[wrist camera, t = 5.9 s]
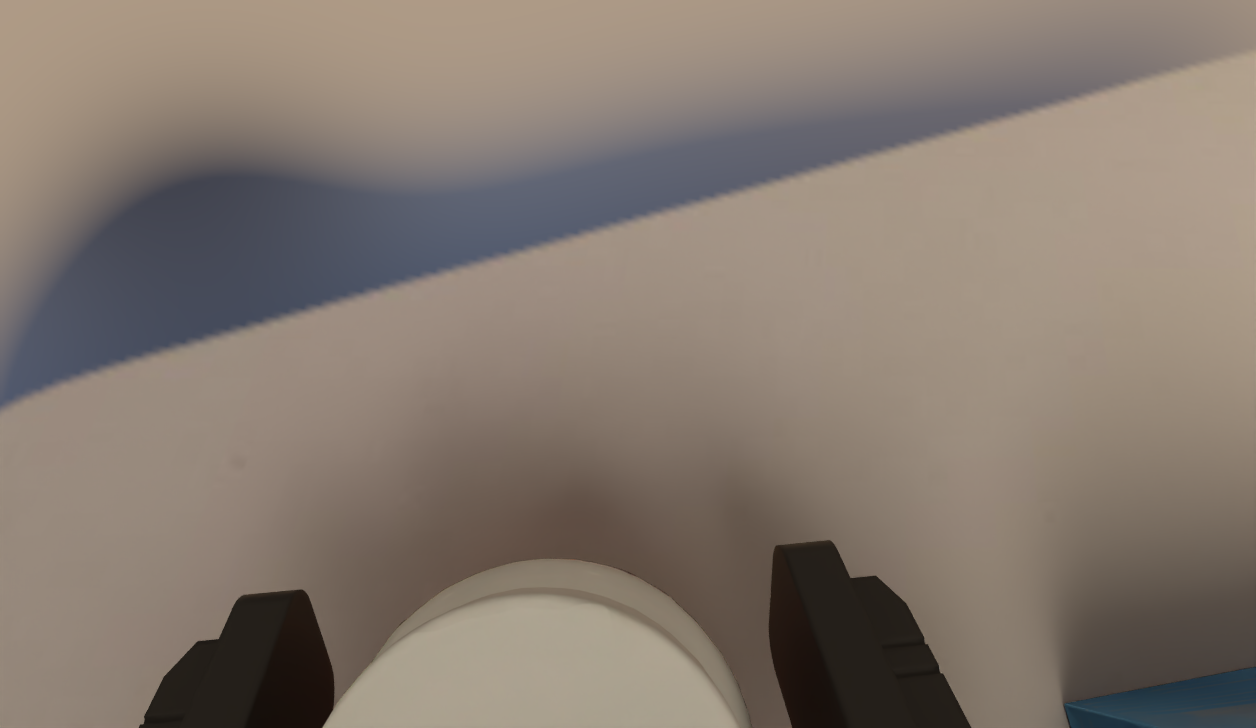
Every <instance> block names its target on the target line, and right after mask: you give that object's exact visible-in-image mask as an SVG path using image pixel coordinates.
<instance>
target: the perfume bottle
mask: <svg viewBox="0 0 1256 728" xmlns="http://www.w3.org/2000/svg"><path fill="white" fill-rule="evenodd" d="M1064 705H1065V708H1066V712H1067V715H1068V719H1069V722H1070V726H1071V728H1256V667H1253V668H1247V669H1242V670H1237V671H1232V672H1226V673H1221V674H1216V675H1211V676H1206V677H1200V678H1195V679H1190V680H1185V681H1180V682H1174V683H1169V684H1164V685H1159V686H1154V687H1148V688H1143V689H1138V690H1133V691H1128V692H1122V693H1117V694H1112V695H1107V696H1101V697H1096V698H1091V699H1086V700H1081V701H1075V702H1070V703H1065V704H1064Z"/></svg>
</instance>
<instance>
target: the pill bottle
mask: <svg viewBox="0 0 1256 728" xmlns="http://www.w3.org/2000/svg"><path fill="white" fill-rule="evenodd" d="M323 728H752V725H751V721H750V718H749V714H748V710H747V707H746V704H745V701H744V699H743V696H742V694H741V691H740V688H739V685H738V683H737V681H736V679H735V677H734V675H733V673H732V671H731V670H730V668H729V666H728V664H727V663H726V661H725V659H724V657H723V656H722V654H721V652H720V651H719V649H718V648H717V647H716V646H715V645H714V644H713V642H712V641H711V640H710V638H709V637H708V636H707V634H706V633H705V632H704V631H703V629H702V628H701V627H700V626H699V625H698V623H697V622H696V621H695V620H694V619H693V618H692V617H691V616H690V615H689V614H688V613H687V612H686V611H685V610H684V609H683V608H682V607H681V606H680V605H679V604H677V603H676V602H675V601H674V600H673V599H672V598H671V597H669V596H668V595H667V594H666V593H664V592H663V591H661V590H660V589H658V588H656V587H654V586H652V585H651V584H649V583H647V582H645V581H644V580H642V579H640V578H638V577H637V576H635V575H633V574H631V573H629V572H626V571H624V570H621V569H617V568H614V567H611V566H607V565H602V564H598V563H593V562H587V561H582V560H579V559H535V560H526V561H519V562H514V563H510V564H506V565H502V566H498V567H495V568H492V569H488V570H485V571H483V572H480V573H478V574H475V575H473V576H470V577H468V578H466V579H464V580H462V581H460V582H458V583H456V584H454V585H452V586H450V587H448V588H446V589H444V590H443V591H441V592H440V593H439V594H437V595H436V596H434V597H433V598H432V599H430V600H429V601H428V602H427V603H425V604H424V605H423V606H422V607H420V608H419V609H418V610H416V611H415V612H414V613H413V614H412V615H411V616H410V617H409V618H408V619H406V620H405V621H403V622H402V623H401V624H400V625H399V626H398V627H397V629H396V630H395V631H394V632H393V633H392V635H391V636H390V637H389V639H388V640H387V641H386V643H385V644H384V645H383V647H382V648H381V650H380V651H379V652H378V654H377V655H376V657H375V658H374V659H373V660H372V662H371V664H369V665H368V666H367V667H366V669H365V670H364V671H363V672H362V673H361V674H360V675H359V677H358V678H357V679H356V680H355V681H354V682H353V684H352V685H351V686H350V687H349V689H348V690H347V691H346V692H345V694H344V695H343V696H342V697H341V699H340V700H339V701H338V703H337V704H336V706H335V708H334V709H333V711H332V713H331V714H330V716H329V718H328V719H327V721H326V723H325V724H324V726H323Z"/></svg>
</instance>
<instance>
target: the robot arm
mask: <svg viewBox="0 0 1256 728" xmlns="http://www.w3.org/2000/svg"><path fill="white" fill-rule="evenodd" d="M769 639H770V648H771V654H772V659H773V664H774V668H775V672H776V675H777V679H778V682H779V685H780V689H781V692H782V695H783V698H784V702H785V705H786V708H787V712H788V715H789V718H790V722H791V725H792V728H971V726H970V724H969V722H968V720H967V719H966V717H965V715H964V713H963V711H962V709H961V707H960V705H959V703H958V701H957V699H956V698H955V696H954V694H953V692H952V690H951V688H950V686H949V684H948V682H947V680H946V678H945V676H944V675H943V673H940V671H939V665H938V663H937V661H936V659H935V657H934V655H933V654H932V652H931V650H930V648H929V646H928V644H927V645H926V644H925V642H924V636H923V634H922V633H921V631H920V629H919V627H918V625H917V623H916V621H915V619H914V617H913V615H912V613H911V611H910V610H909V608H908V606H907V604H906V603H905V602H904V601H903V600H902V599H901V598H900V597H899V596H897V595H896V594H895V593H894V592H893V591H892V590H891V589H890V588H889V587H888V586H886V585H885V584H884V583H883V582H882V581H881V580H880V579H879V578H878V577H877V576H869V577H858V578H850V576H849V574H848V572H847V570H846V567H845V565H844V563H843V561H842V559H841V557H840V554H839V552H838V550H837V548H836V546H835V545H834V543H833V542H832V541H830V540H827V541H816V542H806V543H795V544H785V545H776V547H775V549H774V553H773V565H772V581H771V597H770V613H769ZM333 706H334V675H333V669H332V665H331V662H330V659H329V656H328V653H327V650H326V647H325V644H324V641H323V638H322V635H321V632H320V629H319V626H318V623H317V620H316V617H315V614H314V611H313V608H312V605H311V602H310V599H309V596H308V595H307V593H306V592H305V591H304V590H291V591H280V592H270V593H259V594H249V595H243V596H241V597H240V598H239V599H238V600H237V601H236V603H235V604H234V606H233V608H232V611H231V613H230V615H229V617H228V620H227V622H226V624H225V626H224V629H223V631H222V633H221V635H220V637H219V639H216V640H206V641H197V642H196V643H195V645H194V646H193V647H192V648H191V649H190V650H189V651H188V652H187V653H186V654H185V655H184V656H183V657H182V658H181V659H180V660H179V661H178V663H177V664H176V665H175V666H174V667H173V668H172V669H171V670H170V671H169V672H168V673H167V674H166V675H165V676H164V678H163V680H162V682H161V684H160V686H159V688H158V690H157V692H156V694H155V696H154V698H153V700H152V702H151V704H150V706H149V708H148V710H147V712H146V714H145V716H144V718H145V721H144V724H142V725H140V726H139V728H323V726H324V724H325V723H326V721H327V719H328V718H329V716H330V714H331V713H332V711H333Z"/></svg>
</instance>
